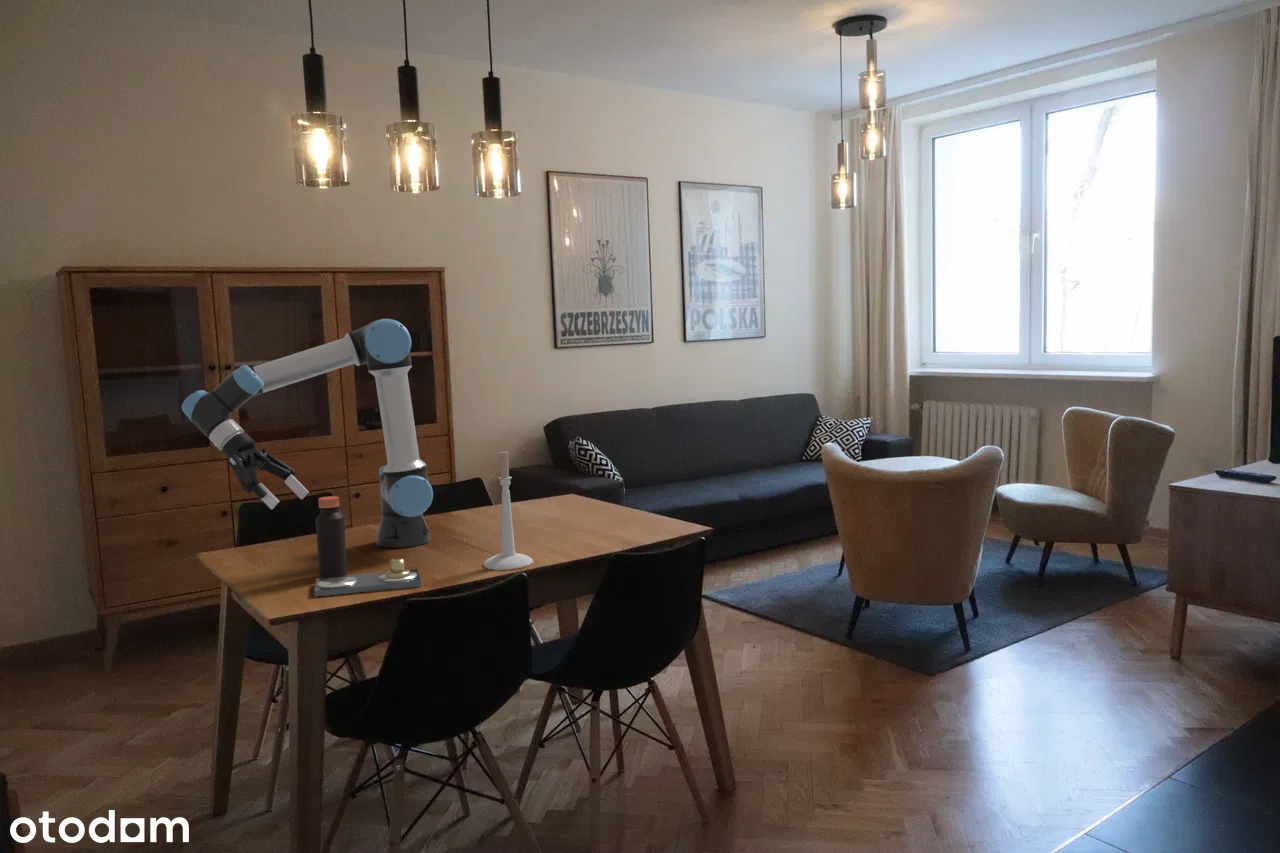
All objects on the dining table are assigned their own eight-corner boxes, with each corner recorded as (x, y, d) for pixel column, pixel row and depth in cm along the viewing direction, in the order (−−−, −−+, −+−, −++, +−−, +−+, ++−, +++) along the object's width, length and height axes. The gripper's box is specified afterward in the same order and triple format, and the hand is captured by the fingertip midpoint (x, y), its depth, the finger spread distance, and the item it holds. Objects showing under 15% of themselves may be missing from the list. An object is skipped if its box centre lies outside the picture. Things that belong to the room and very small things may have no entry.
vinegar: (323, 573, 237) (319, 496, 235) (350, 572, 238) (346, 495, 236) (315, 580, 231) (310, 500, 229) (343, 579, 231) (338, 499, 229)
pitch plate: (417, 574, 233) (416, 552, 233) (420, 586, 222) (419, 563, 221) (316, 584, 226) (315, 561, 226) (314, 597, 215) (313, 573, 214)
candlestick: (529, 570, 235) (525, 452, 232) (479, 571, 236) (474, 453, 233) (536, 557, 248) (532, 446, 245) (488, 558, 248) (483, 447, 245)
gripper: (253, 445, 248) (308, 501, 247) (192, 458, 224) (252, 520, 223) (270, 426, 247) (325, 482, 246) (210, 436, 222) (271, 498, 221)
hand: (290, 500), depth 234 cm, fingers open, 13 cm apart
